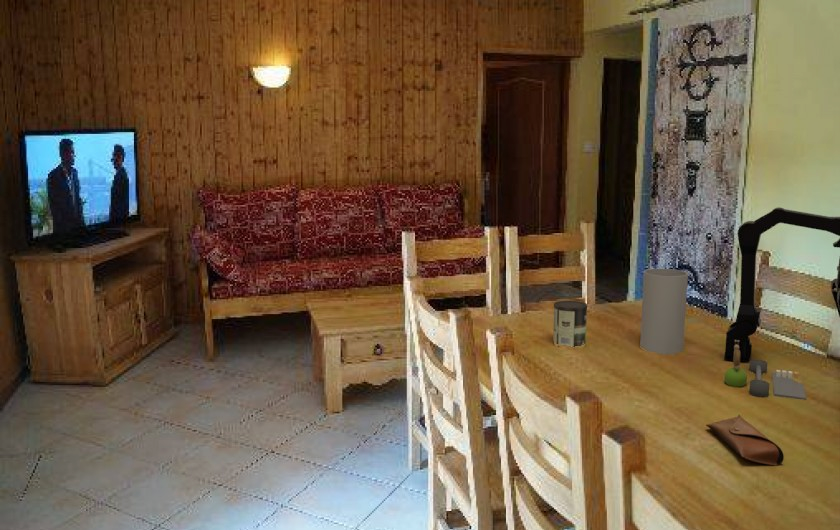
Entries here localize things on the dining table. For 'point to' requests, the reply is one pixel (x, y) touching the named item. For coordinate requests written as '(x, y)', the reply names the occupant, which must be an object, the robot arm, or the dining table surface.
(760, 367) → the gray dumbbell
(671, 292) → the cylinder vase
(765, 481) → the dining table surface
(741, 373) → the green bulbous piece
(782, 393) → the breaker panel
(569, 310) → the coffee can
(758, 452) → the sunglasses case
